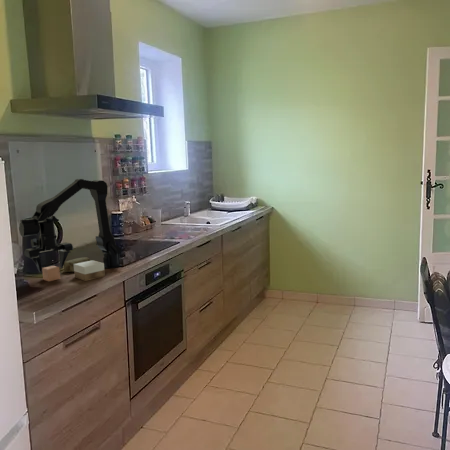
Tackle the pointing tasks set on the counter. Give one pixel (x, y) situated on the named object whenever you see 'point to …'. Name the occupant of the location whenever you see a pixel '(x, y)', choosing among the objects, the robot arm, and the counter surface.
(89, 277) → the tower bottom
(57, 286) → the counter surface
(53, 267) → the cube
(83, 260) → the stone block
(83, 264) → the tower top
